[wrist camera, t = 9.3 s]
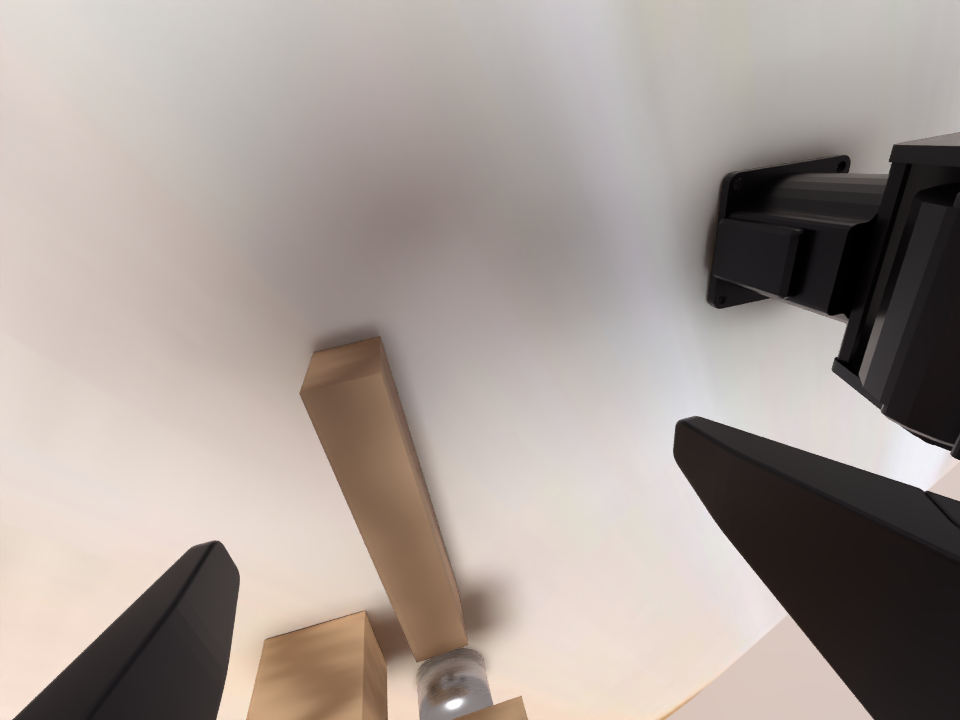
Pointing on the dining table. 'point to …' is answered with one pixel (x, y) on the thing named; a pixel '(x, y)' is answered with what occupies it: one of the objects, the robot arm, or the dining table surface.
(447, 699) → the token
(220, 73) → the dining table surface
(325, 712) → the l-shaped wooden block
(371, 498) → the batten
